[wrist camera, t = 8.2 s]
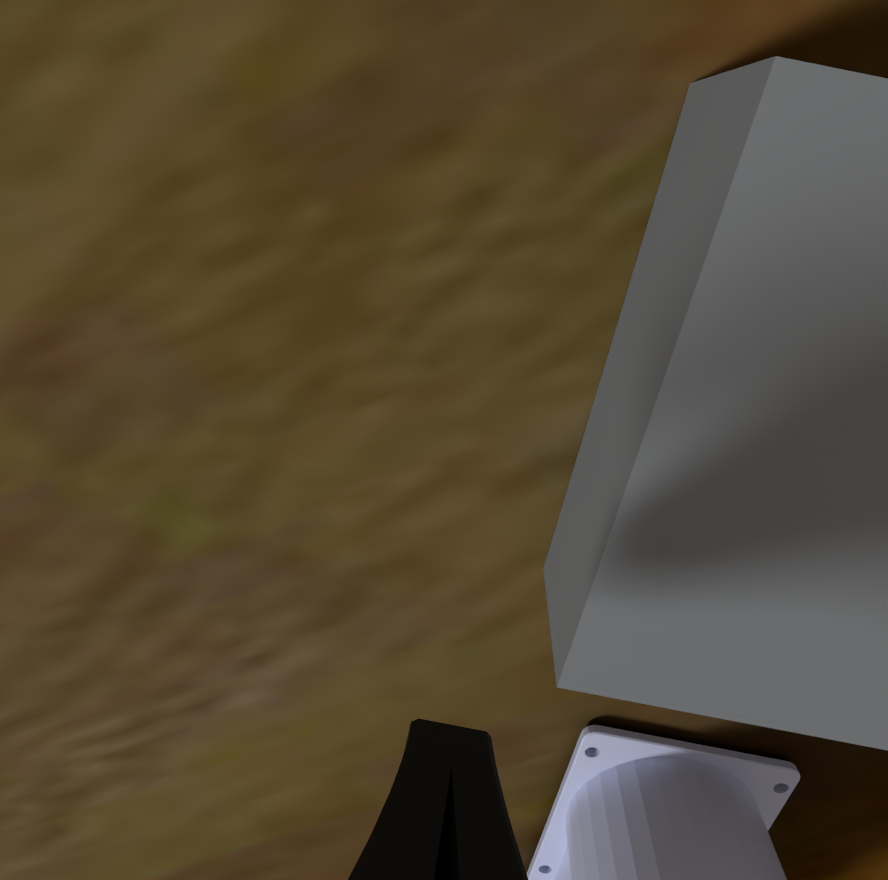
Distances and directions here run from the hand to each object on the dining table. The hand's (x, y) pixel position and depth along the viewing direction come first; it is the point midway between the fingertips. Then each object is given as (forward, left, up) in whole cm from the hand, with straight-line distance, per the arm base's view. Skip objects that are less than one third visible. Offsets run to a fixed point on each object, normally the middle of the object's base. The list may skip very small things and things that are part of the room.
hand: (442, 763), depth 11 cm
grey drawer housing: (+5, -10, -9) cm, 15 cm away
